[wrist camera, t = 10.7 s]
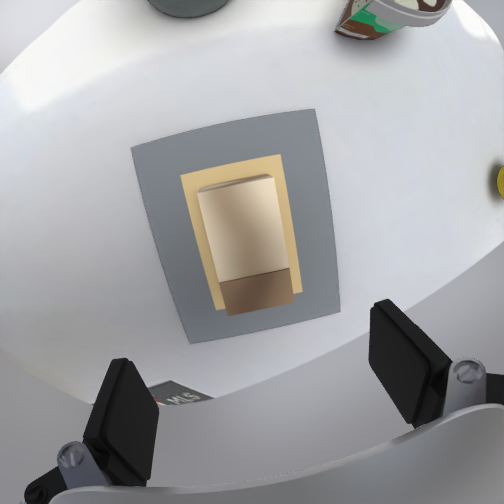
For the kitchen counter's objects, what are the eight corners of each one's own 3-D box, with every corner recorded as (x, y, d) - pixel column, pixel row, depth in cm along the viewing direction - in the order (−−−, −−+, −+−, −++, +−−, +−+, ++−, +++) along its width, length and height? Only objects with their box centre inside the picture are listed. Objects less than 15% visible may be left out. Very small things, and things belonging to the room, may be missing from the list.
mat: (190, 341, 29) (189, 344, 29) (132, 147, 23) (130, 147, 22) (338, 309, 30) (340, 312, 29) (313, 109, 23) (315, 108, 22)
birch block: (266, 173, 24) (274, 177, 20) (285, 280, 27) (294, 302, 23) (201, 186, 24) (196, 193, 20) (227, 292, 27) (227, 316, 23)
